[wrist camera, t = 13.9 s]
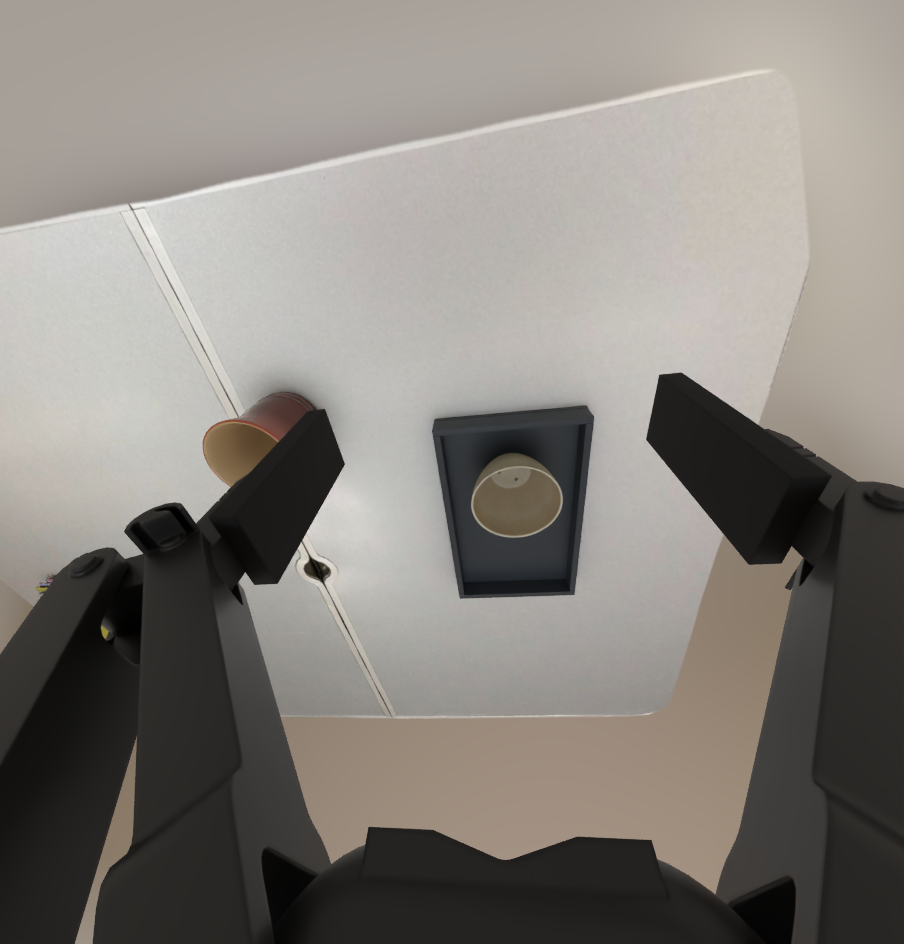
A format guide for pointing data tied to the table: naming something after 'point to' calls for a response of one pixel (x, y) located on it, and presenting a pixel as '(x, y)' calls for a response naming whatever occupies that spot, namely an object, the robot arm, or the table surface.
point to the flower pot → (516, 496)
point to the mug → (251, 435)
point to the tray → (532, 434)
